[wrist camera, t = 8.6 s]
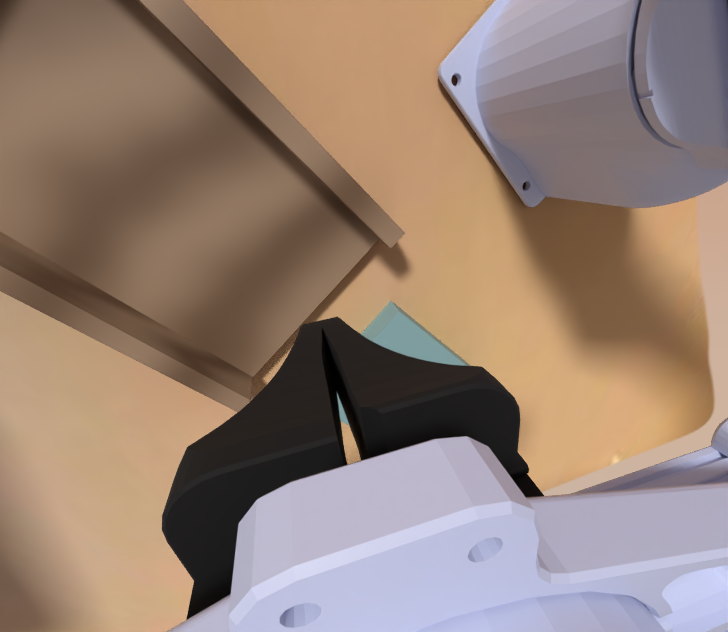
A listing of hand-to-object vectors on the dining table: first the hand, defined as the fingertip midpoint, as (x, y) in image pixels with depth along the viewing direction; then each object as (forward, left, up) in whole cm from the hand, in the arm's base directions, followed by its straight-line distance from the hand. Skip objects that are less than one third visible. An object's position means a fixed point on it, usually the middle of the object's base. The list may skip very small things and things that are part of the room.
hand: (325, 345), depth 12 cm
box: (+8, +1, -8) cm, 12 cm away
